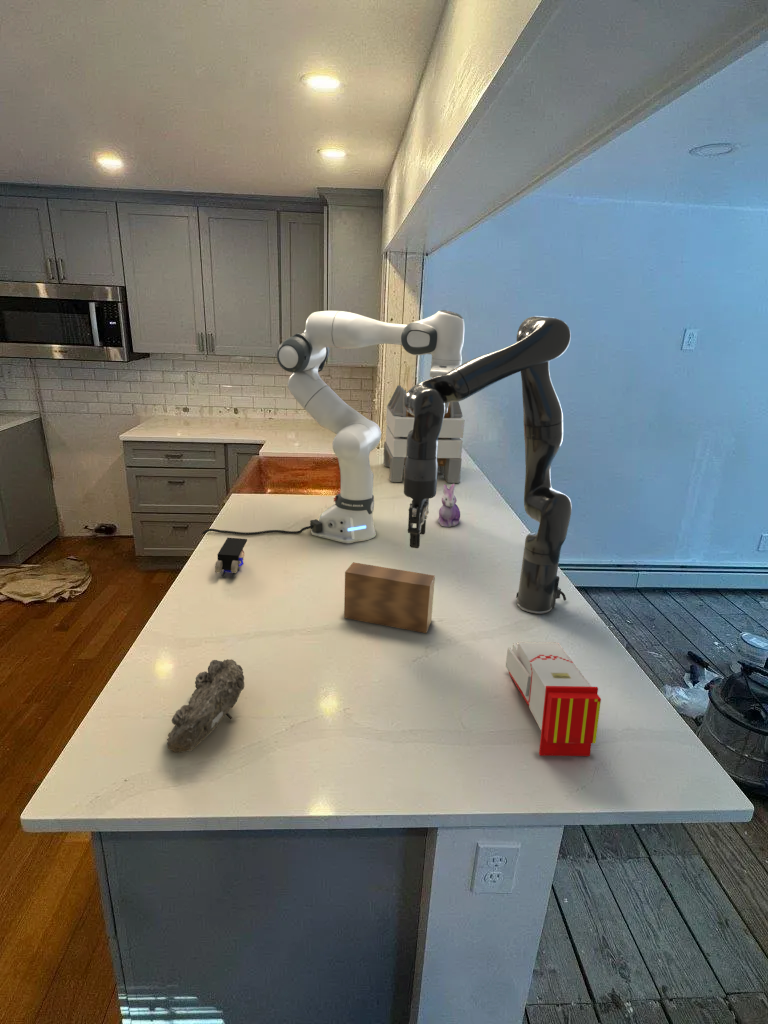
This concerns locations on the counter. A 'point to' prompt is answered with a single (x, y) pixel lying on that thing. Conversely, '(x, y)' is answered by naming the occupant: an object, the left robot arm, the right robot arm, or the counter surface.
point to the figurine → (449, 508)
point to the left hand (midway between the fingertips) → (441, 415)
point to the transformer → (403, 423)
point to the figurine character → (230, 556)
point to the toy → (556, 697)
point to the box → (389, 597)
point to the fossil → (206, 705)
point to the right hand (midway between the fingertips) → (417, 540)
